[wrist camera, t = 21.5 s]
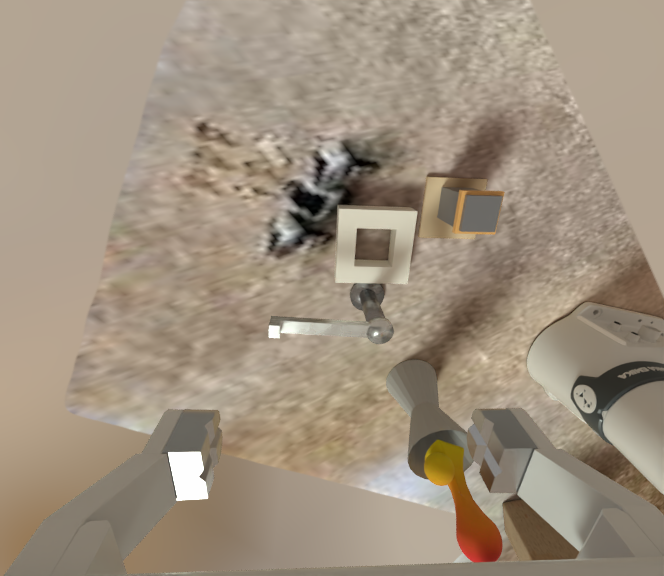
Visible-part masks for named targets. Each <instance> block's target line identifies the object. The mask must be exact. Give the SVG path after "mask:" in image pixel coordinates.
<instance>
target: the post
mask: <svg viewBox="0 0 664 576" xmlns="http://www.w3.org/2000/svg"><path fill="white" fill-rule="evenodd" d="M350 298H351V302H352V304H353V305H354V306H355V307H356V308H357V309H359V310H362V311H364V315H365V318H366V322H369V321H370V320H371V319H373V318H375V317H385V316H384V314H383V311H382V309H381V306H380V304H381V303H382V301H383V299H384V291H383V288H382V286H381V285H380V283H355V284H354V286H353V287H352V289H351V292H350Z"/></svg>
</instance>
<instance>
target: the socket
mask: <svg viewBox="0 0 664 576" xmlns="http://www.w3.org/2000/svg"><path fill="white" fill-rule="evenodd" d="M417 212H418V211H416V210H415V209H413V208H412V207H387V206H358V205H338V207H337V229H336V250H335V271H334V276H335V282H336V283H380V284H407V283H408V276H409V269H410V262H411V255H412V247H413V240H414V233H415V226H416V219H417ZM357 228H365V229H391V236H390V245H389V254H388V260H355V247H356V233H357Z"/></svg>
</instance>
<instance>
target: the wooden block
mask: <svg viewBox="0 0 664 576" xmlns="http://www.w3.org/2000/svg"><path fill="white" fill-rule="evenodd" d="M503 513H504V525H505V532H506V534H507V536H508V538H509V540H510V542H511V544H512V546H513V548H514V550H515V552H516V555H517V557H518V559H519V561H531V560H561V559H576V557H577V555H578V554H579V551H578V550H577V549H576V548H575V547H574V546H573V545H572V544H570V543H569V542H568V541H567V540H566V539H565V538H564V537H563V536H562V535H561V534H560V533H558V532H557V531H556V530H555V529H554V528H553V527H552V526H551V525H550V524H549V523H548V522H546V521H545V520H544V519H543V518H542V517H541V516H540V515H539V514H538V513H537V512H536V511H535V510H533V509H532V508H531V507H530V506H529V505H528V504H527V503H526V502H525V501H524V500H523V499H519V500H514V501H510V502H505V503H503Z"/></svg>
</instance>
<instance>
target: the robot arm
mask: <svg viewBox="0 0 664 576" xmlns="http://www.w3.org/2000/svg"><path fill="white" fill-rule="evenodd" d="M527 367H528V371H529V374H530V375H531V377H532V378H533V379H534V380H535V381H536V382H538V383H539V384H540V385H542V386H543V387H544V389H545V392H546V394H547V395H548V396H549V397H550V398H551V399H552V400H555V401H557V400H559V401H560V402H561V403H562V404H563V405H564V406H565V407H567V408H568V409H569V410H570V411H571V412H572V413H574V414H575V415H576V416H577V417H578V418H580V419H581V420H582V421H583V422H585V423H587V424H588V425H589V426H590V427H591V428H592V429H593V431H594V432H595V433H596V434H597V435H598V436H600V437H601V438H602V439H603V440H605V441H606V442H607V443H609V444H611V445H614V446H615V447H616V448H617V449H618V450H619V451H620V452H621V453H622V454H623V455H624V456H625V457H626V458H627V459H628V460H629V461H630V462H631V463H632V464H633V465H634V466H635V467H636V468H637V469H638V470H639V471H640V472H641V473H642V474H643V475H644V476H645V477H646V478H647V479H648V480H649V481H650V482H651V483H652V484H653V485H654V486H655V487H656V488H657V489H658V490H659V491H660V492H661V493H662V494H664V319H662V318H660V317H657V316H652V315H648V314H643V313H639V312H634V311H630V310H625V309H620V308H616V307H611V306H607V305H602V304H598V303H593V302H585V303H583V304H581V305H580V306H579V307H578V308H577V309H576V310H574V311H573V312H572V313H571V314H570V315H569V316H567V317H565V318H564V319H562V320H560V321H558V322H556V323H554V324H552V325H551V326H549V327H548V328H547V329H546V330H544V331H543V332H542V333H541V334H540V335H539V336H538V338H537V339H536V340H535V342H534V343H533V345H532V346H531V349H530V351H529V354H528V358H527ZM471 419H472V420H473V422H474V424H473V425H472V426H471V427H470V428H469V429H468V433H467V446H468V450H469V453H470V455H471V457H472V459H473V460H474V461H475V462H476V463H478V464H479V465H480V466H481V468H480V472H479V473H480V475H481V477H482V479H483V481H484V483H485V485H486V486H487V488H488V490H489V492H490V493H518V494H517V495H518V496H519V497H520V498H521V499H523V500H524V501H525V502H526V503H527V504H528V505H529V506H530V507H531V508H532V509H533V510H535V511H536V512H537V513H538V514H539V515H540V516H541V517H542V518H543V519H544V520H545V521H546V522H548V523H549V524H550V525H551V526H552V527H553V528H554V529H555V530H556V531H557V532H558V533H560V534H561V535H562V536H563V537H564V538H565V539H566V540H567V541H568V542H569V543H570V544H572V545H573V546H574V547H575V548H576V549H577V550H578V551H579V554H578V555H577V557H576V559H561V560H531V561H502V562H473V563H446V564H445V563H444V564H415V565H388V566H387V565H386V566H356V567H328V568H327V567H326V568H300V569H297V568H296V569H271V570H270V569H268V570H267V569H266V570H236V571H207V572H180V573H179V572H178V573H148V574H127V573H126V569H125V566H124V563H123V560H124V559H125V558H126V557H127V556H128V555H129V554H130V553H131V551H132V550H133V549H134V548H135V547H136V546H137V545H138V544H139V543H140V542H141V540H142V539H143V538H144V537H145V536H146V535H147V534H148V533H149V532H150V531H151V530H152V529H153V527H154V526H155V525H156V524H157V523H158V522H159V521H160V520H161V518H163V516H164V515H165V514H166V513H167V512H168V511H169V510H170V509H171V508H172V507H173V506H174V504H175V503H176V502H177V500H186V499H207V498H208V495H209V492H210V488H211V485H212V482H213V479H214V472H213V468H214V467H215V466H216V465H217V464H218V462H219V459H220V455H221V449H222V430H221V429H220V428H218V426H219V423H220V414H219V411H218V410H190V409H185V410H173V409H168V410H167V411H166V412H165V413H164V414H163V416H162V418H161V419H160V421H159V423H158V425H157V427H156V428H155V430H154V432H153V434H152V435H151V437H150V439H149V441H148V443H147V444H146V446H145V448H144V450H143V451H142V453H141V454H135V455H134V456H132V457H131V458H130V459H128V460H127V461H126V462H124V463H123V464H121V465H120V466H118V467H117V468H116V469H114V470H113V471H112V472H110V473H109V474H108V475H106V476H105V477H103V478H102V479H101V480H99V481H98V482H96V483H95V484H93V485H92V486H91V487H89V488H88V489H87V490H85V491H84V492H82V493H81V494H79V495H78V496H77V497H75V498H74V499H73V500H71V501H70V502H68V503H67V504H66V505H64V506H63V507H62V508H60V509H59V510H57V511H56V512H54V513H53V514H52V515H50V516H49V517H48V518H46V519H45V520H44V521H43V522H42V524H41V525H40V526H39V528H38V529H37V530H36V532H35V533H34V535H33V536H32V537H31V539H30V540H29V542H28V543H27V544H26V546H25V547H24V548H23V550H22V551H21V553H20V554H19V555H18V557H17V558H16V560H15V561H14V562H13V563H12V565H11V566H10V568H9V569H8V571H7V572H6V573H5V575H4V576H664V515H663V514H662V513H661V512H660V511H659V510H658V509H657V508H656V507H655V506H654V505H652V504H651V503H649V502H647V501H646V500H644V499H643V498H641V497H639V496H638V495H636V494H634V493H633V492H631V491H629V490H628V489H626V488H624V487H623V486H621V485H620V484H618V483H616V482H615V481H613V480H611V479H610V478H608V477H606V476H605V475H603V474H601V473H600V472H598V471H597V470H595V469H593V468H592V467H590V466H588V465H587V464H585V463H583V462H582V461H580V460H579V459H577V458H575V457H574V456H572V455H570V454H569V453H567V452H565V451H564V450H562V449H556V448H555V447H554V445H553V444H552V443H551V442H550V440H549V439H548V438H547V437H546V435H545V434H544V433H543V432H542V430H541V429H540V428H539V427H538V425H537V424H536V423H535V422H534V421H533V419H532V418H531V417H530V416H529V414H528V413H527V412H526V411H525V410H524V409H522V408H506V409H475V410H474V411H473V414H472V417H471Z"/></svg>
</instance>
